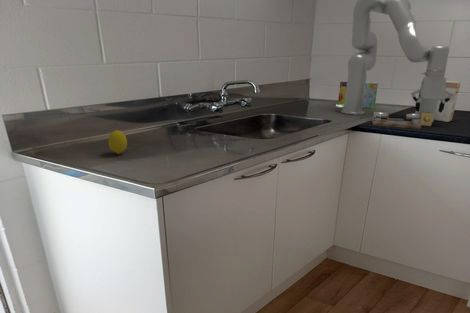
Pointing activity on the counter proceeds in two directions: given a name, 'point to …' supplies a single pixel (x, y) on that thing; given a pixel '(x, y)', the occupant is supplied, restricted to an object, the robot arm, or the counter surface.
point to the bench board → (386, 123)
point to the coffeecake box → (450, 105)
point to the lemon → (117, 141)
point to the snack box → (368, 95)
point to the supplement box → (428, 106)
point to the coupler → (426, 118)
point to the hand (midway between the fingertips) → (428, 111)
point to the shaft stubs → (394, 121)
